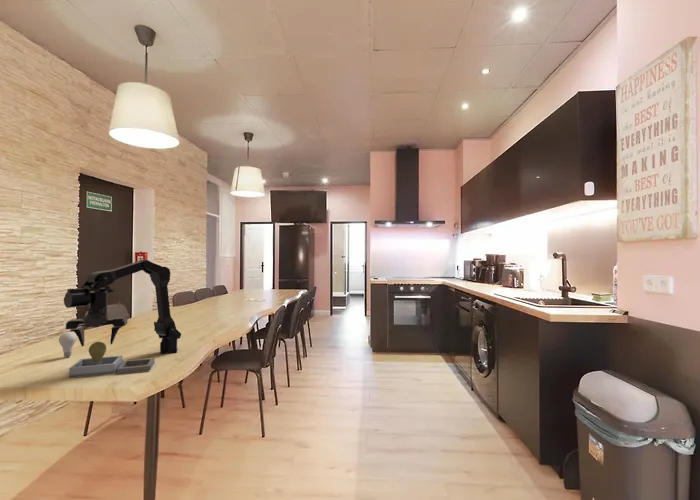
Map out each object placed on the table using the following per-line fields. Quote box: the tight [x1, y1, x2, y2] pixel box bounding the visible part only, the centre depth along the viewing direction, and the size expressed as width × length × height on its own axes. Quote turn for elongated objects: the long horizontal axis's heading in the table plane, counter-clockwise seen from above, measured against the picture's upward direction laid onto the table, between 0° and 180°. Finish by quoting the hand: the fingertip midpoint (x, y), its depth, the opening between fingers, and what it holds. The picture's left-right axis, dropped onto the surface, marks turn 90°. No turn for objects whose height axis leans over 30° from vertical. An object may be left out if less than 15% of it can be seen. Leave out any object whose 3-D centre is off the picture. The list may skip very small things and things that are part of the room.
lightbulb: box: [58, 331, 78, 358], centre depth 152 cm, size 6×6×11 cm
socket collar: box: [116, 357, 156, 375], centre depth 139 cm, size 11×11×2 cm
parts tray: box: [68, 355, 123, 379], centre depth 135 cm, size 14×12×4 cm
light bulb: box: [88, 341, 107, 365], centre depth 135 cm, size 6×6×10 cm
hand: (97, 345), depth 135 cm, fingers open, 9 cm apart
